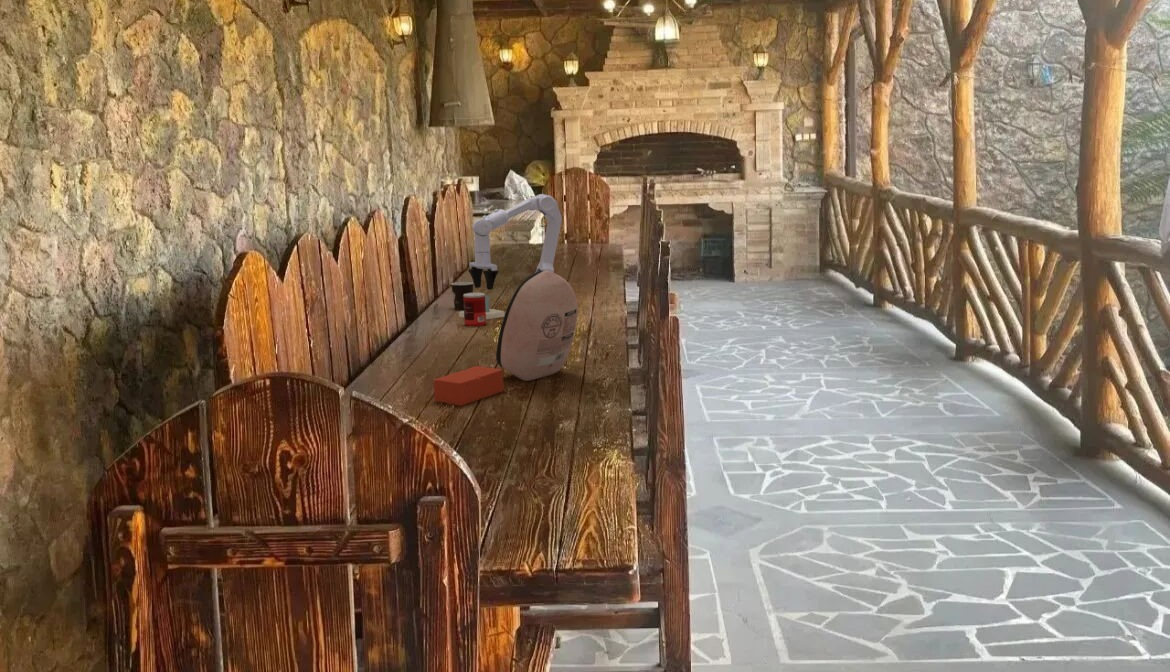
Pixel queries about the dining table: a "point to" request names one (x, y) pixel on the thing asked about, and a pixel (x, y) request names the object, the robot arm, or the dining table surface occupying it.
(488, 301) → the block
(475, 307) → the canned food
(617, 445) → the dining table surface
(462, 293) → the coffee mug
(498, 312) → the base tile
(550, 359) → the packaged food
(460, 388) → the brick
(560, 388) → the dining table surface
